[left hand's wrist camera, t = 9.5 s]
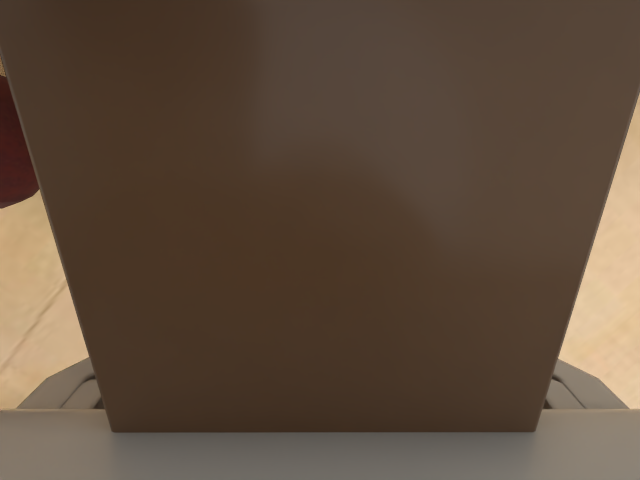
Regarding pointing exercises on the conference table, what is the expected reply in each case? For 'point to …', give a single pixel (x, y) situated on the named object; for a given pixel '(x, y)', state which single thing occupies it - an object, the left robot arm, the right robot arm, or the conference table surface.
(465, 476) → the left robot arm
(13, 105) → the dark red rounded ball
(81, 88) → the box
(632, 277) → the conference table surface
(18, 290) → the conference table surface
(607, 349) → the conference table surface
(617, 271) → the conference table surface
